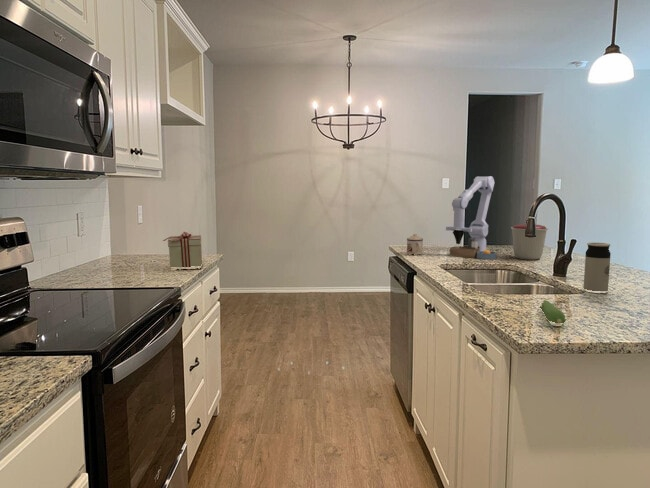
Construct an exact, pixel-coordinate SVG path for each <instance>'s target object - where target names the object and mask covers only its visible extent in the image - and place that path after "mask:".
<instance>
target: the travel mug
mask: <svg viewBox="0 0 650 488" xmlns="http://www.w3.org/2000/svg"><path fill="white" fill-rule="evenodd" d="M586 245H587V249H586V251H585V256H584V258H585V260H584V275H583V276H584V277H583V288H584V289H587V290H592V291H608V292H609V284H610V283H609V281H610V269H611V267H610V265H611V254H612V253H611V251H610V247H611V244H610V243H606V242H587V243H586Z"/></svg>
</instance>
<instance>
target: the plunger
mask: <svg viewBox="0 0 650 488" xmlns="http://www.w3.org/2000/svg"><path fill="white" fill-rule="evenodd" d="M467 246H468V247H473V248H476V249H477V248H478V241H475V238H472V237H469V238H468V239H467Z"/></svg>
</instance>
